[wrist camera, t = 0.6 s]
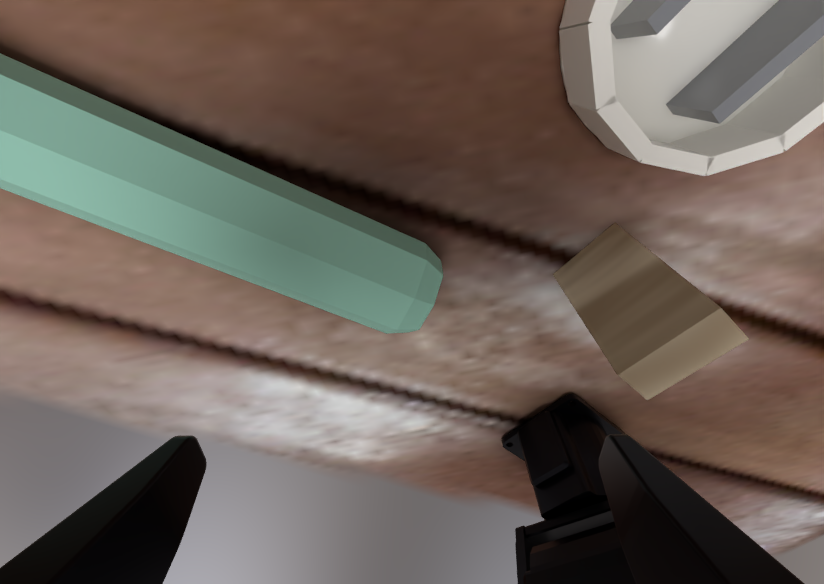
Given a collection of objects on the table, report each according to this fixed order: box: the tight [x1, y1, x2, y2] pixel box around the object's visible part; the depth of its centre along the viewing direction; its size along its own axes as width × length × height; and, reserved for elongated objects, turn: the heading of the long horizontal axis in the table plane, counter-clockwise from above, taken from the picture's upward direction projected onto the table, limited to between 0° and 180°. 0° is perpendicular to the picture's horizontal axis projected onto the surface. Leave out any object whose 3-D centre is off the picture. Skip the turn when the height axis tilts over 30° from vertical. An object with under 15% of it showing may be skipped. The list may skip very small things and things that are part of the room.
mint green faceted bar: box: [0, 53, 443, 334], centre depth 17 cm, size 6×6×25 cm
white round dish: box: [559, 0, 824, 176], centre depth 14 cm, size 10×10×3 cm
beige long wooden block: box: [553, 223, 749, 400], centre depth 17 cm, size 2×4×8 cm, turn 139°
